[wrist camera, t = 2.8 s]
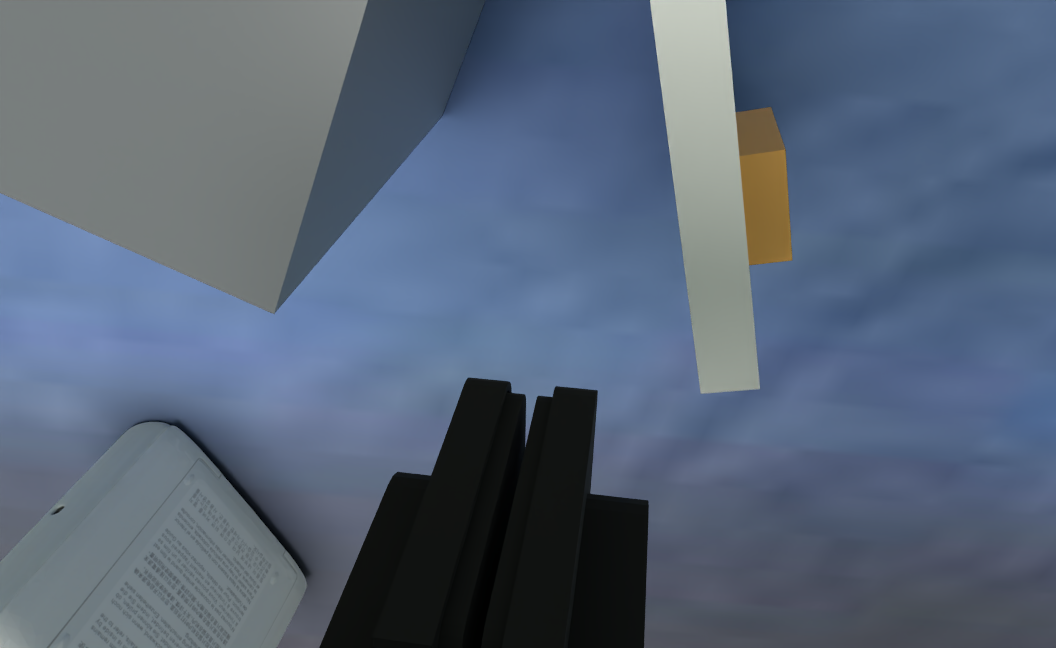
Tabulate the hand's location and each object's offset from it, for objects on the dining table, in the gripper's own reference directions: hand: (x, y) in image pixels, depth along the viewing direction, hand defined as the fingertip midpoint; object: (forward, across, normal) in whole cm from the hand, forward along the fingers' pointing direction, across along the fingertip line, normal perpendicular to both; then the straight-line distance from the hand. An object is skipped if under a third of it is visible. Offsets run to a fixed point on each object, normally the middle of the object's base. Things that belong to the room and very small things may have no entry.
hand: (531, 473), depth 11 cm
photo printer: (+15, +15, +18) cm, 28 cm away
